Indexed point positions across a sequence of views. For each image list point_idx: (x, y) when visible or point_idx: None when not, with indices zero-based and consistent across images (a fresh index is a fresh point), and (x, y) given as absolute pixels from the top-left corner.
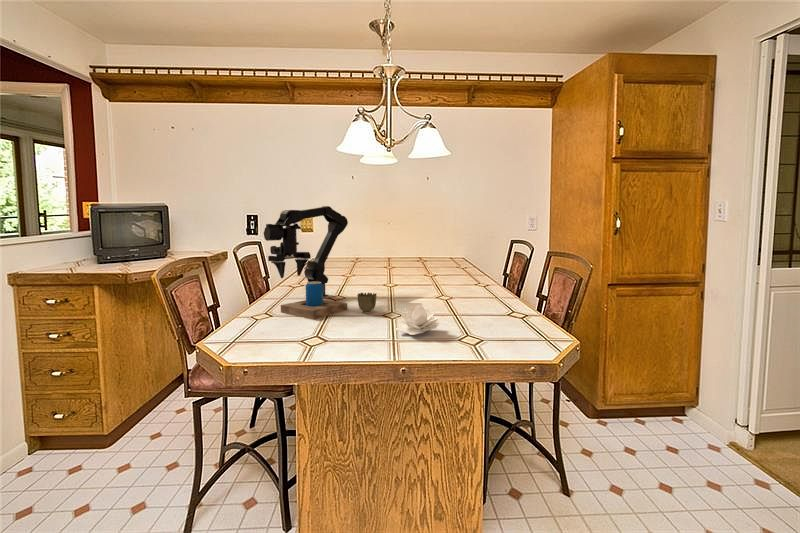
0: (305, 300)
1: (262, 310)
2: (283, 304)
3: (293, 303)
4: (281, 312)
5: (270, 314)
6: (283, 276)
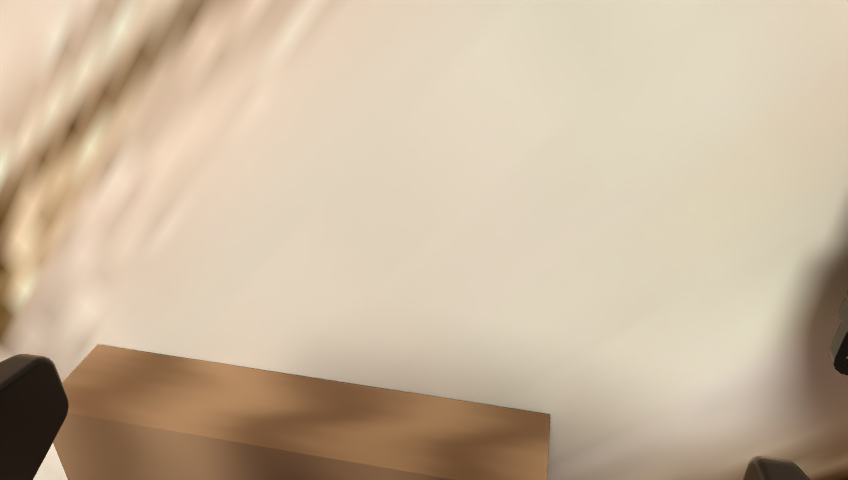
0: (367, 474)
1: (11, 67)
2: (71, 416)
3: (174, 461)
4: (91, 361)
5: (15, 284)
6: (40, 456)
